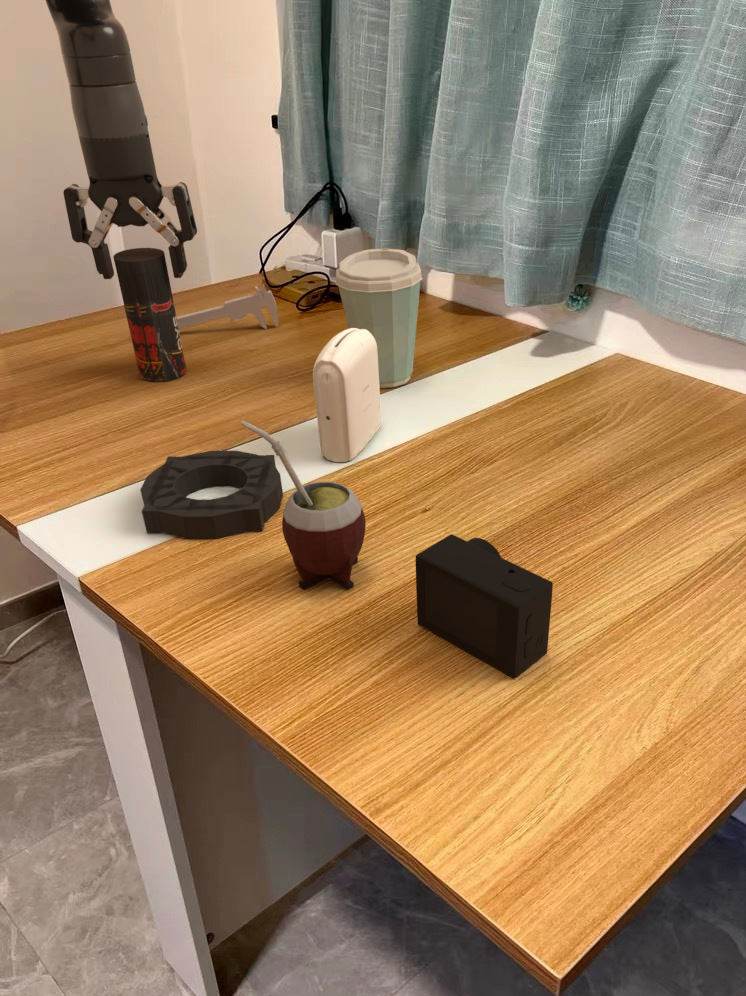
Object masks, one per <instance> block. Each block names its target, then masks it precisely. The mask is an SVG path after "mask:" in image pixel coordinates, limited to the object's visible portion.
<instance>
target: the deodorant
mask: <svg viewBox="0 0 746 996" xmlns="http://www.w3.org/2000/svg"><path fill="white" fill-rule="evenodd" d="M112 257H113V262H114V266H115V270H116V271H115V272H116V275H117V280H118V284H119V285H118V286H119V289H120V293H121V299H122V302H123V307H124V312H125V315H126V320H127V324H128V329H129V335H130V338H131V343H132V348H133V352H134V356H135V360H136V365H137V369H138V374H139V375H138V376H139V377H140V379H142V380H143V381H145V382H151V383H163V382H169V381H174V380H177V379H179V378H182V377H184V375H186V373H187V366H186V361H185V360H186V359H185V355H184V350H183V344H182V339H181V334H180V329H179V328H178V323H177V317H178V316H177V313H176V307H175V303H174V296H173V292H172V286H171V281H170V276H169V275H170V274H169V270H168V265H167V259H166V254H165V251H164V250H163V249H161V248H156V247H155V248H154V247H137V248H136V247H135V248H129V249H124V250H120V251H118V252H116V253H115V254H113V256H112Z"/></svg>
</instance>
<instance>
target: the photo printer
mask: <svg viewBox="0 0 746 996" xmlns="http://www.w3.org/2000/svg"><path fill="white" fill-rule="evenodd" d="M312 381H313V391H314V401H315V410H316V421H317V430H318V439H319V440H318V441H319V449H320V450H319V451H320V454H321V456H323V457H324V458H325V459H326V460H328V461H330V462H335V463H346V462H348V461H351V460H353V459H354V458H355V457H356V456H358V455H359V454H360V452H361V451H362V450H363V449H364V448H365V447H366V446H367V444H368V443H369V442H370V441H371V439H372V438H374V436H375V435H376V433H377V431H379V429H380V427H381V424H382V409H381V408H382V407H381V388H380V387H379V370H378V353H377V344H376V341H375V339H374V337H373V336H372V334H371V333H370V332H369V331H367V330H366V329H357V328H350V329H349V328H347V329H344V330H342V331H340V332H339V333H337V334H335V335H334V336H333V337H332V338H331V339H330V340H329V341H328V342H327V343H326V344H325V345H324V347H323V348H322V349H321V351H320V352H319V354H318V356H317V357H316V360H315V362H314V365H313V369H312Z"/></svg>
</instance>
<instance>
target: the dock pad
mask: <svg viewBox="0 0 746 996" xmlns="http://www.w3.org/2000/svg"><path fill="white" fill-rule="evenodd" d="M275 459H276V458H275V455H274V454H257V453H251V452H246V451H241V450H208V451H203V452H198V453H193V454H187V455H183V456H181V455H180V456H174V455H173V456H172V455H171V456H167V457H166V459H165V461H164V464H162V465H160V466H159V467H157V468H156V469H154V470H153V471H152V472H151V473H149V474H148V475H146V477H145V479H144V482H143V484H142V485H141V487H140V494H141V499H142V502H143V507H142V509H141V515H142V519H143V522H144V527H145V531H146V534H164V535H168V536H173V537H178V538H181V539H186V540H188V539H189V540H202V539H204V540H205V539H207V540H209V539H221V538H224V537H225V538H226V537H229V536H234V535H239V534H243V533H246V532H247V533H248V532H263V530H264V526H265V523H266V522H267V521H269V520H270V519H271V518H272V516H274V515H275V514H276V513H277V512H278V511H279V510H280V508H281V505H282V501H283V497H284V493H283V485H282V479H281V473H280V472H279V470H278V469H277V466H276V460H275ZM227 486H228V487H232V488H237V489H239V490H237V491H235V492H233V493H230V494H228V495H226V496H221V497H217V498H216V497H215V498H212V499H211V498H210V499H196V498H190V497H187V496H188V495H190V494H192V493H195V492H197V491H199V490H201V489H206V488H211V487H227Z"/></svg>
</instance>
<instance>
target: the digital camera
mask: <svg viewBox="0 0 746 996" xmlns="http://www.w3.org/2000/svg"><path fill="white" fill-rule="evenodd" d="M553 586H554V583H553V581H551V580H549V579H546V578H545V577H542V576H540V575H539V574H537V573H534V572H532V571H530V570H528V569H526V568H524V567H522V566H520V565H517V564H515V563H513V562H512V561H510V560H508V559H505V558H503V557H502V556H501V553H500V552H499V550H498V549H497V548H496V547H495V546H494V545H493V544H492V543H490V542H489V541H487V540H486V539H484V538H480V537H472V538H470V539H469V540H465V539H463V538H461V537H459V536H456V535H455V534H452V533H451V534H448V535H447V536H445V537H443V538H442V539H441V540H438V541H437V542H436V543H434V544H432V545H431V546H429V547H427V548H426V549H424V550H422V551H420V552H418V553H417V554H416V555H415V588H416V589H415V590H416V616H417V618H416V619H417V625H418V626H420V627H422V628H424V629H425V630H427V631H429V632H430V633H433V634H434V635H436V636H438V637H440V638H441V639H444V640H445V641H447V642H449V643H451V644H452V645H454V646H456V647H458V648H459V649H461V650H463V651H464V652H466V653H468V654H470V655H472V656H473V657H475V658H477V659H478V660H480V661H483V662H484V663H486V664H488V665H489V666H491V667H493V668H494V669H496V670H498V671H500V672H502V673H503V674H506V675H507V676H508V677H511V678H513V679H514V680H515V679H517V678H518V677H519V676H520V675H522V674H523V673H524V672H526V671H527V670H528V669H529V668H531V667H532V666H533V665H534V664H535V663H537V662H538V661H539V660H541V659H542V658H543V657H544V656H545V655H547V654H548V648H549V635H550V624H551V623H550V622H551V612H552V601H553V589H554V588H553Z"/></svg>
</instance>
